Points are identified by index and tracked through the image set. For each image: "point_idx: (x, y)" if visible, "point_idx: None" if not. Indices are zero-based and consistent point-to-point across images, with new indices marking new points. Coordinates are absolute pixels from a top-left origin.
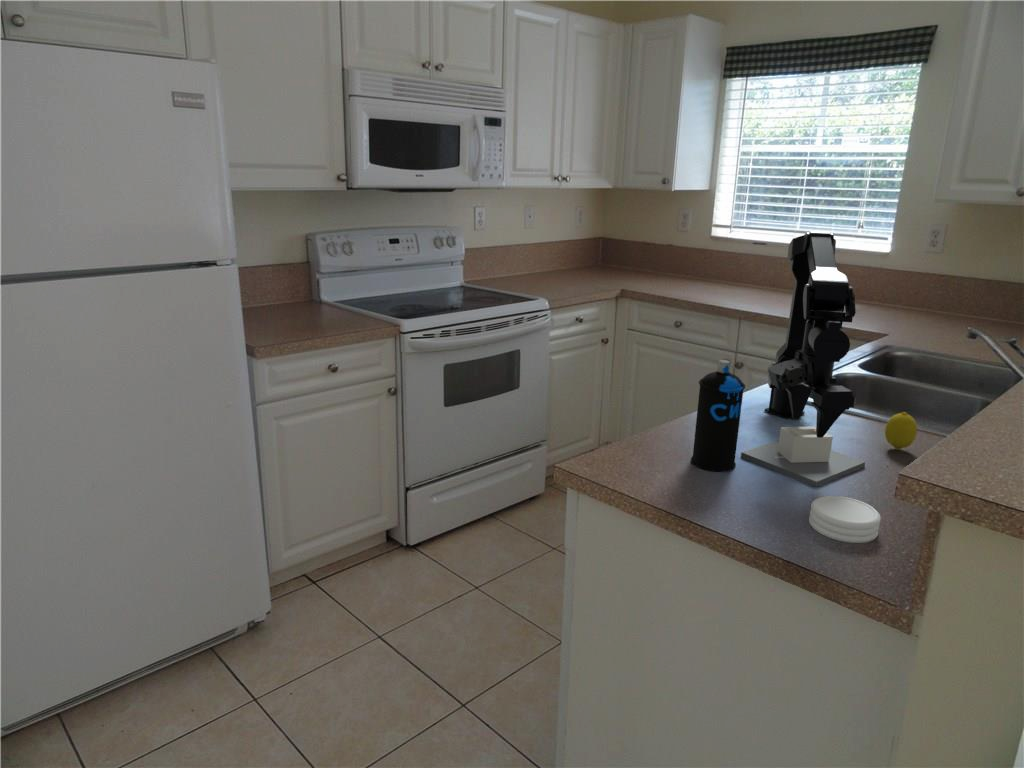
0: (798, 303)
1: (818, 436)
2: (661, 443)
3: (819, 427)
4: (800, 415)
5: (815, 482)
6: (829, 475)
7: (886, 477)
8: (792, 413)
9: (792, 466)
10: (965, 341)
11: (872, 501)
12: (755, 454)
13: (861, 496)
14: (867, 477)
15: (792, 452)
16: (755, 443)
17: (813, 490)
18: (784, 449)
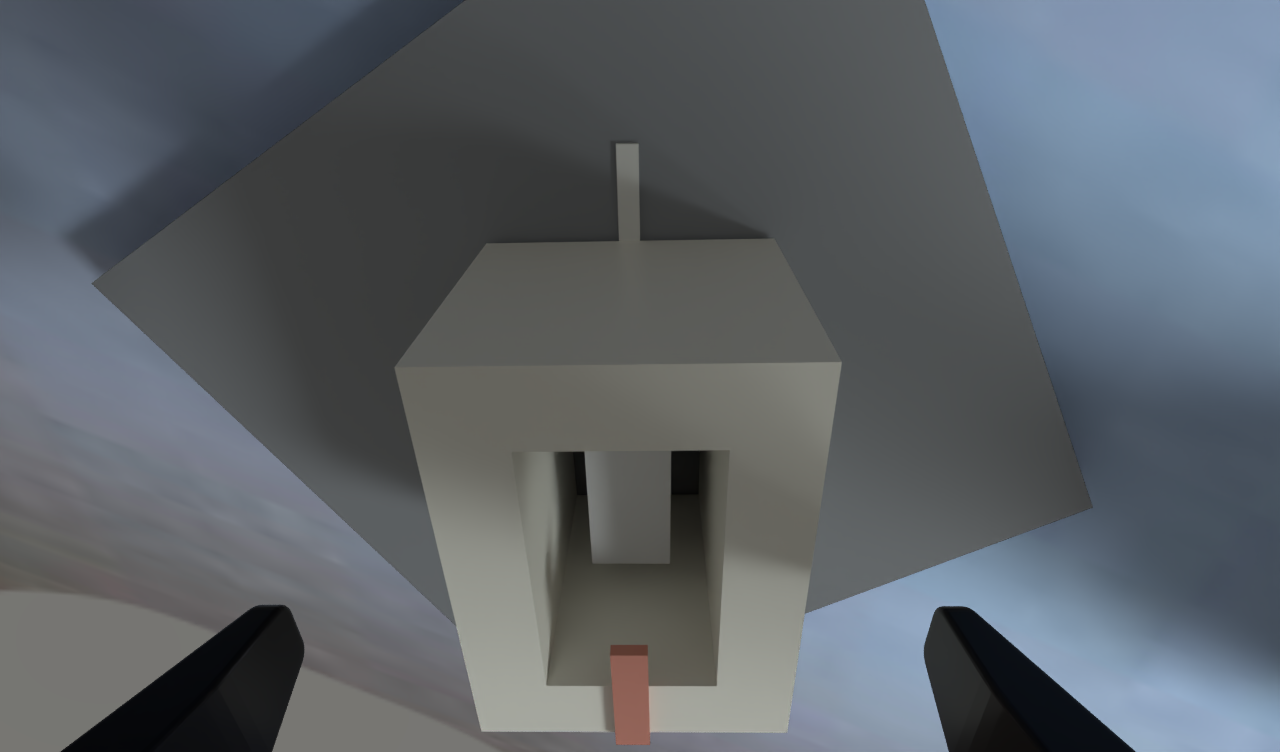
0: None
1: (249, 620)
2: None
3: (77, 746)
4: (945, 725)
5: (107, 275)
6: (262, 434)
7: (410, 705)
8: (1015, 673)
9: (408, 222)
10: None
11: (15, 512)
12: None
13: (72, 488)
14: (394, 632)
15: (457, 283)
16: (1132, 154)
17: (47, 216)
18: (639, 266)
